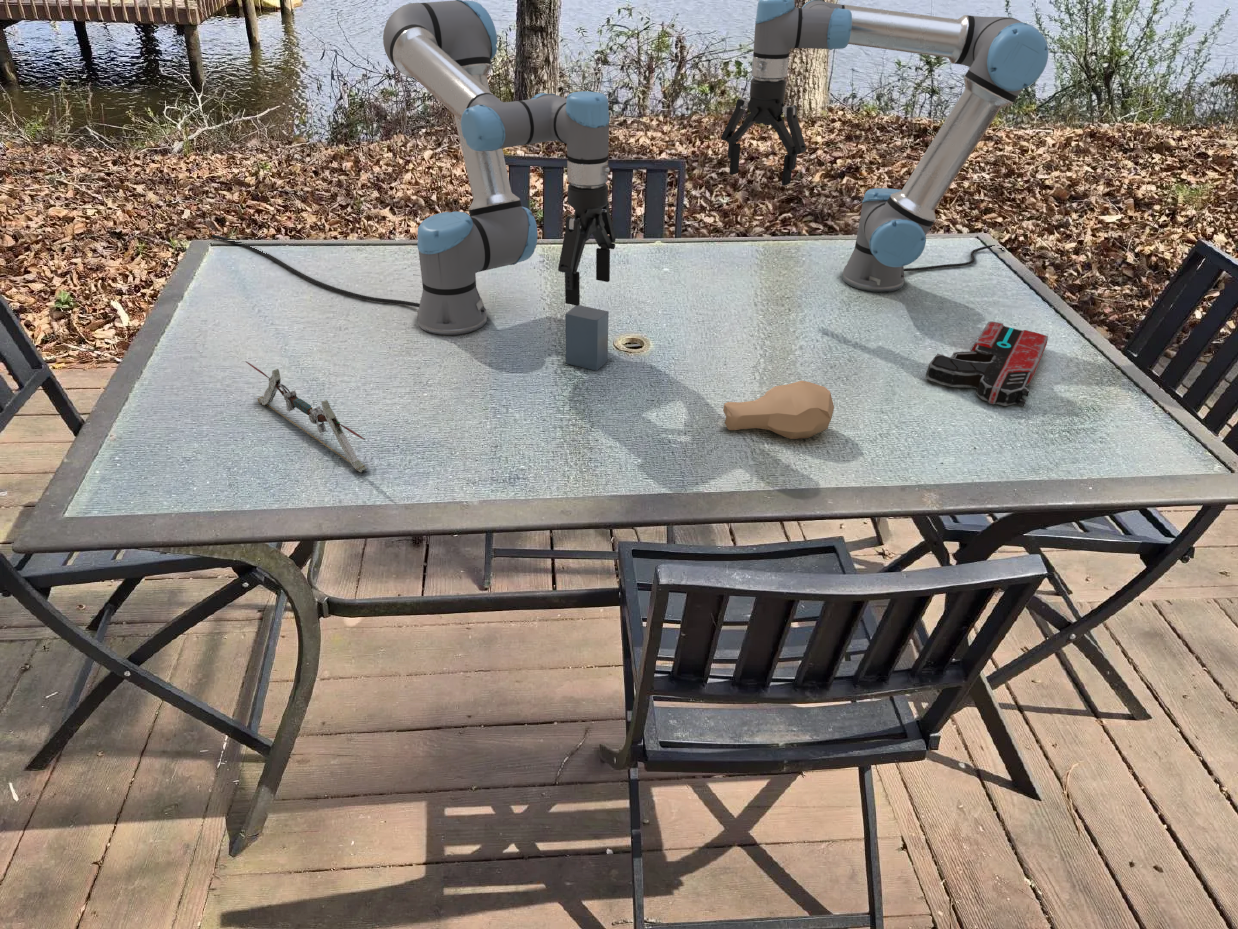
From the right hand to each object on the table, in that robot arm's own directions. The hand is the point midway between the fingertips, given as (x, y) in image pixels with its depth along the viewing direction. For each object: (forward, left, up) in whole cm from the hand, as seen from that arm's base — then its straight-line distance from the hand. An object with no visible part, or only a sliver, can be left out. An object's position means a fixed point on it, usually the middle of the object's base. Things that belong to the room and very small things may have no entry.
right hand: (759, 178), depth 199 cm
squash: (+23, +59, -28) cm, 70 cm away
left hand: (+48, +24, -12) cm, 55 cm away
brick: (+48, +23, -28) cm, 61 cm away
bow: (+104, +36, -28) cm, 114 cm away
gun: (-31, +51, -28) cm, 66 cm away
